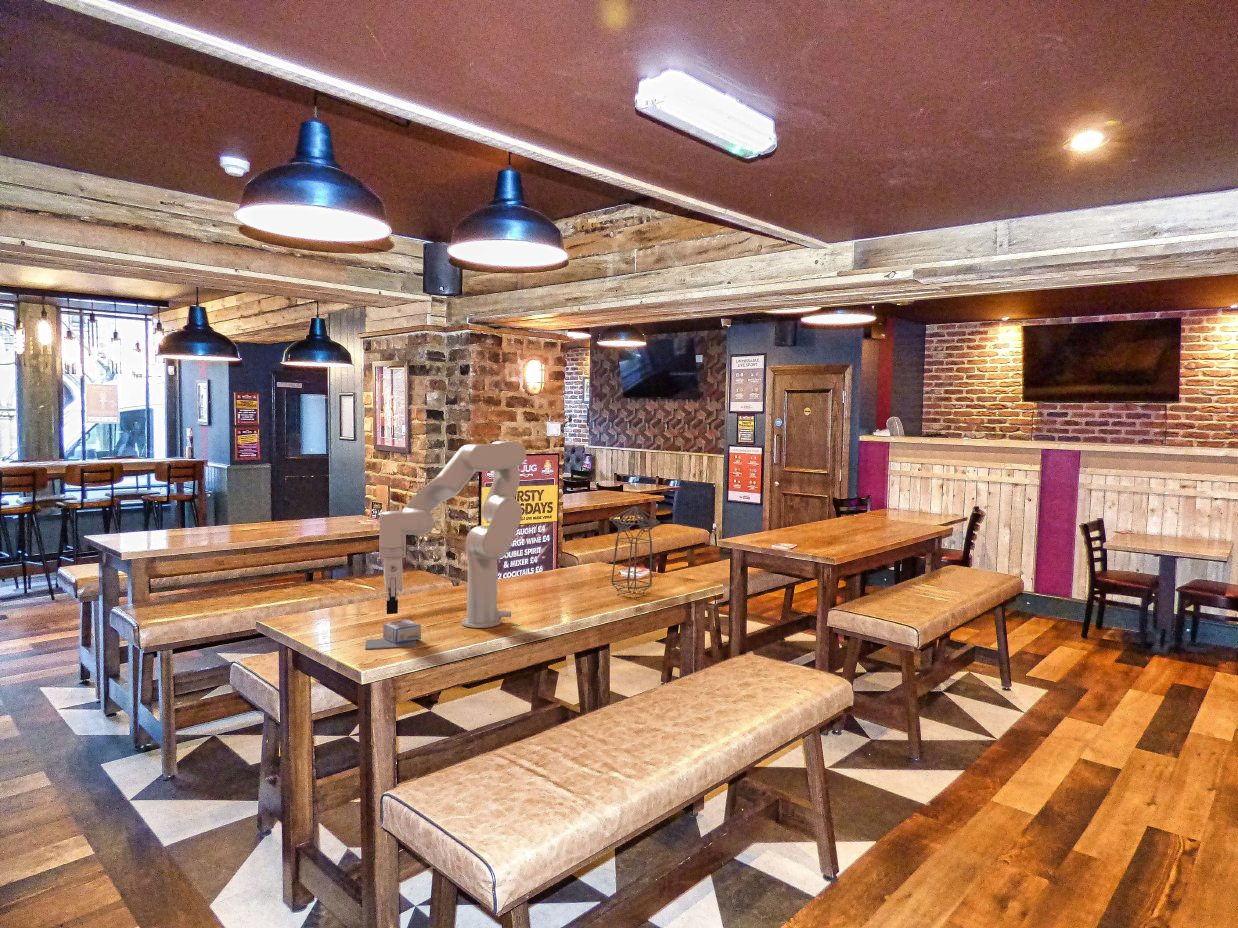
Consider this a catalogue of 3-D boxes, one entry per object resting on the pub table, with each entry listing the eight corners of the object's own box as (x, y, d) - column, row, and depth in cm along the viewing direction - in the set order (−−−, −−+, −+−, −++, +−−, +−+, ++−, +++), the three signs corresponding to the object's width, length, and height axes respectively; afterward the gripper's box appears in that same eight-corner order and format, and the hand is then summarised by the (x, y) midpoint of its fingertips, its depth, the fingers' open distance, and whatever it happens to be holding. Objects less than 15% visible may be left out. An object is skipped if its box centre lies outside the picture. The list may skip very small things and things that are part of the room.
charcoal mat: (415, 638, 215) (415, 636, 215) (416, 646, 207) (417, 645, 207) (366, 640, 211) (366, 639, 211) (365, 649, 202) (365, 648, 202)
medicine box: (407, 618, 218) (421, 624, 212) (407, 633, 219) (421, 639, 212) (382, 623, 213) (396, 628, 207) (382, 638, 213) (396, 644, 207)
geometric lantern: (629, 589, 293) (634, 503, 292) (659, 597, 282) (664, 508, 281) (602, 594, 282) (606, 505, 280) (631, 602, 271) (636, 509, 269)
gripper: (407, 556, 210) (406, 618, 211) (404, 548, 224) (403, 606, 225) (379, 557, 208) (379, 620, 208) (378, 549, 222) (378, 608, 223)
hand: (392, 613), depth 217 cm, fingers closed
